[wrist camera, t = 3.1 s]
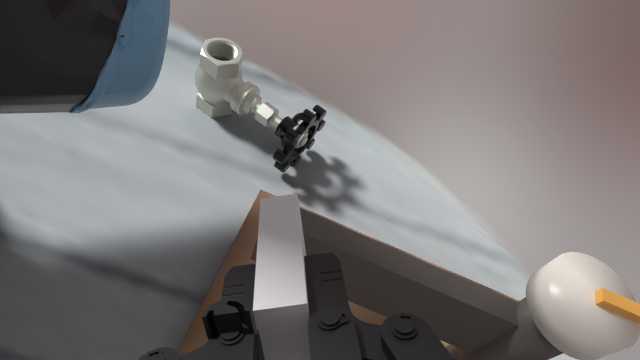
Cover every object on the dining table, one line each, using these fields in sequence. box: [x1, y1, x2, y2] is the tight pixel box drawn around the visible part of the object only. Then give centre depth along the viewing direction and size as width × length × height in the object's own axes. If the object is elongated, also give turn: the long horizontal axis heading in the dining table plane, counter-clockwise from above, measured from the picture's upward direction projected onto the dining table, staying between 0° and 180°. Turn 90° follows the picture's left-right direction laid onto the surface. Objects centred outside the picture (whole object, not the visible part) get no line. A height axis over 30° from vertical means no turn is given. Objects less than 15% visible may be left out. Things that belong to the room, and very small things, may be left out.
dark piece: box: [250, 208, 640, 360], centre depth 27 cm, size 22×5×15 cm, turn 73°
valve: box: [195, 38, 326, 173], centre depth 42 cm, size 7×7×12 cm
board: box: [178, 190, 519, 355], centre depth 35 cm, size 24×14×2 cm, turn 73°
